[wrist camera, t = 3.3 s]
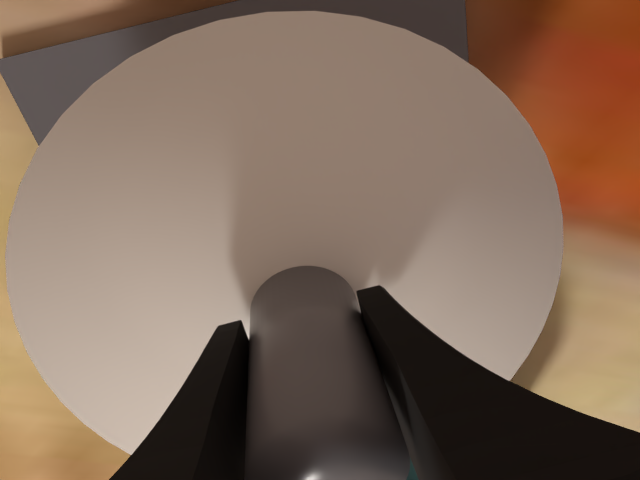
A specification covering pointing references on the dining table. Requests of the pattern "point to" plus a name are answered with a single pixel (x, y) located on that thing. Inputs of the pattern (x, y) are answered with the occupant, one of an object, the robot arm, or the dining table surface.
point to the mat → (115, 47)
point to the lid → (280, 231)
